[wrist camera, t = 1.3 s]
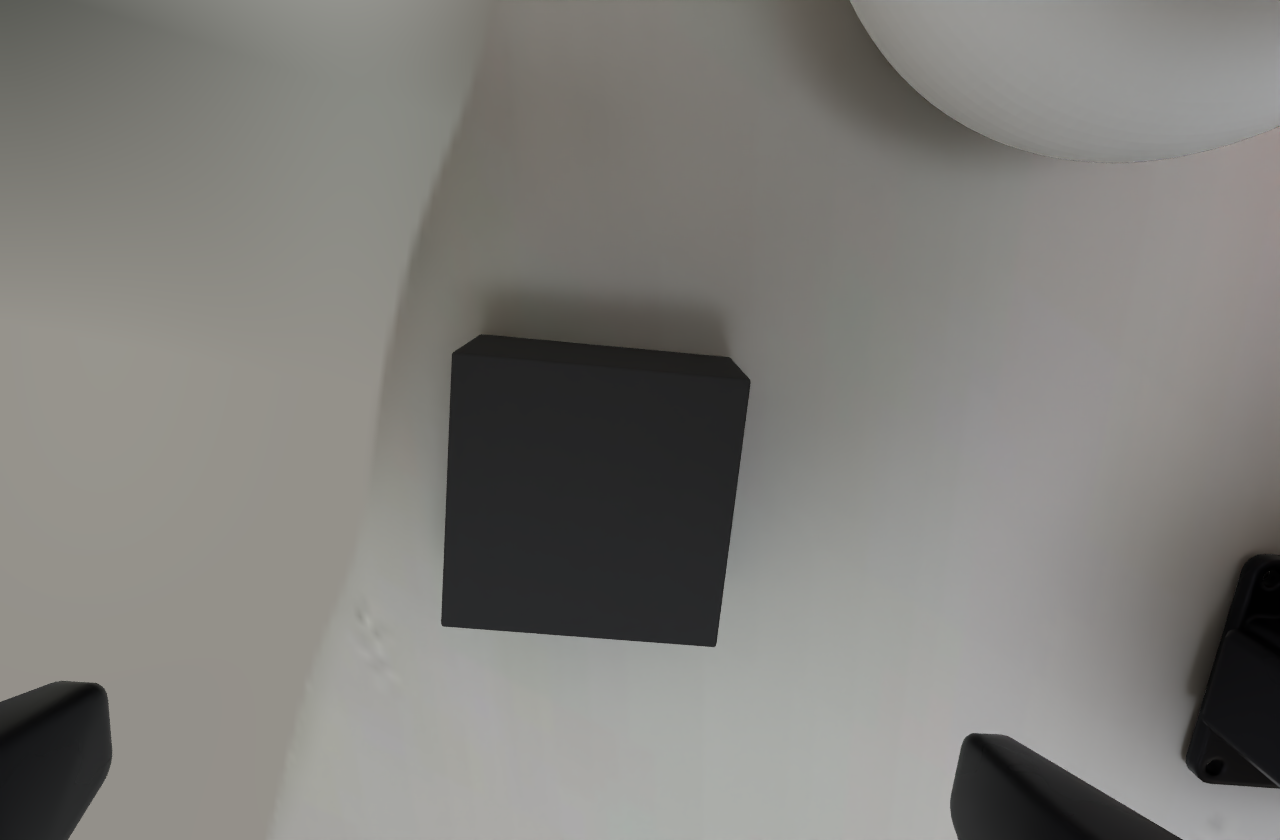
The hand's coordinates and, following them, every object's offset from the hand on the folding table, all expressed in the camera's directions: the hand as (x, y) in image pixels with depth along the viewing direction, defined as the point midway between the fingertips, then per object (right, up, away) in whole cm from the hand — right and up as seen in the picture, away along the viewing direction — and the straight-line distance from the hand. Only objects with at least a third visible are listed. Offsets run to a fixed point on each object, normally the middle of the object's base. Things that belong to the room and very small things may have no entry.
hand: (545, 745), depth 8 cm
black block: (0, +2, +11) cm, 11 cm away
